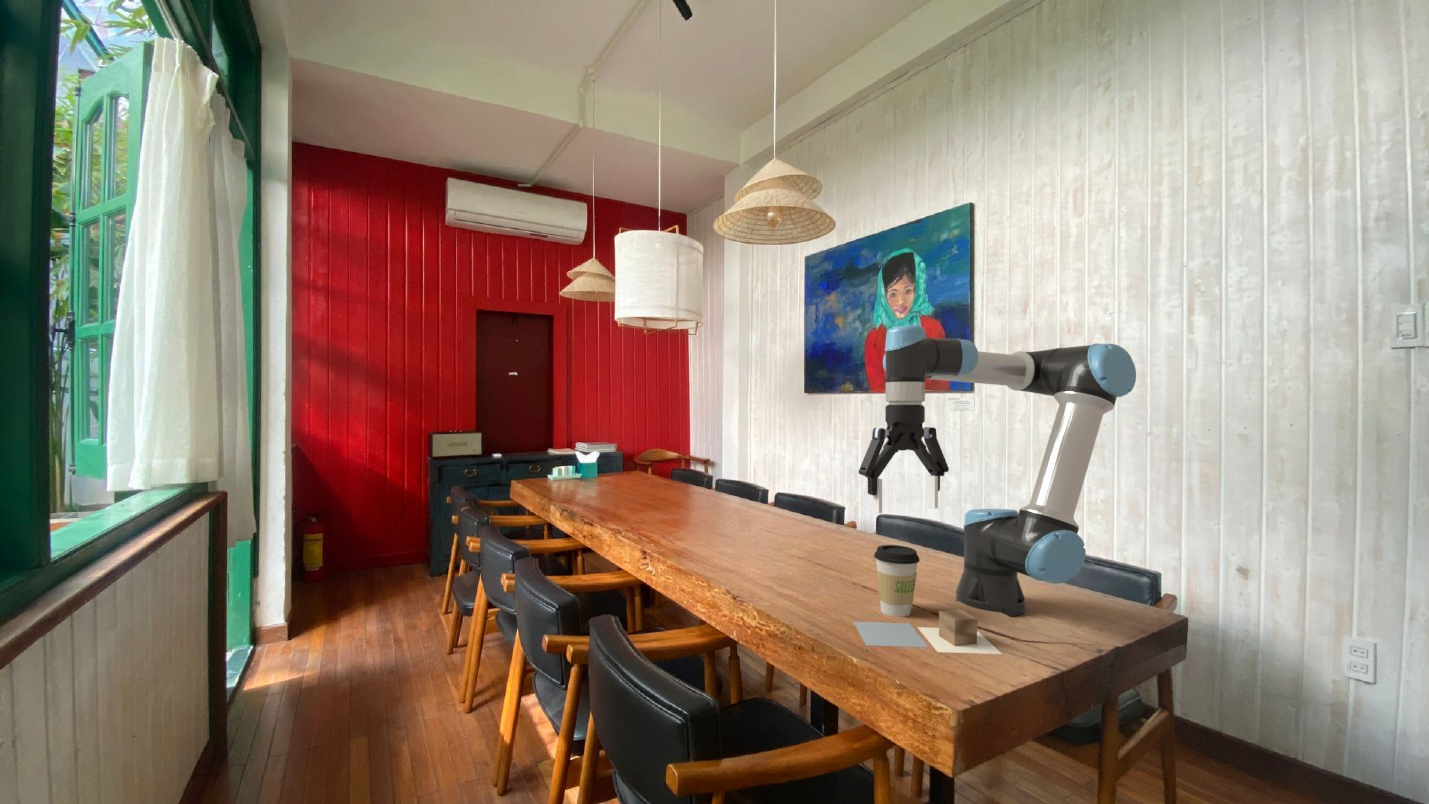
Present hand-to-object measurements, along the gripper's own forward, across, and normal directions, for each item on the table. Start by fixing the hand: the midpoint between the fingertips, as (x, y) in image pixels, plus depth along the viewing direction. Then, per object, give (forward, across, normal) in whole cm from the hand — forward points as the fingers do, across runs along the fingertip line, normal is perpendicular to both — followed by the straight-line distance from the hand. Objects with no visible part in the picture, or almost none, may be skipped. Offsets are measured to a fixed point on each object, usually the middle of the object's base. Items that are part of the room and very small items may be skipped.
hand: (904, 509), depth 114 cm
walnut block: (+26, -10, +4) cm, 28 cm away
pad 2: (+27, -10, +4) cm, 29 cm away
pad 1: (+27, +2, -2) cm, 27 cm away
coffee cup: (+27, -8, -13) cm, 31 cm away
